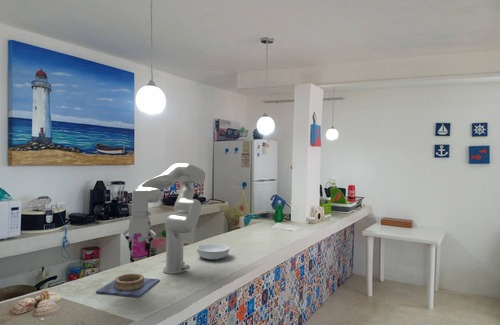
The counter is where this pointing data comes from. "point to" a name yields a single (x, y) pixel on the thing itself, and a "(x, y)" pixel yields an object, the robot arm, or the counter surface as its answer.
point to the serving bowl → (212, 251)
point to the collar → (128, 285)
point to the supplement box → (138, 246)
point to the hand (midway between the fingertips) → (139, 249)
